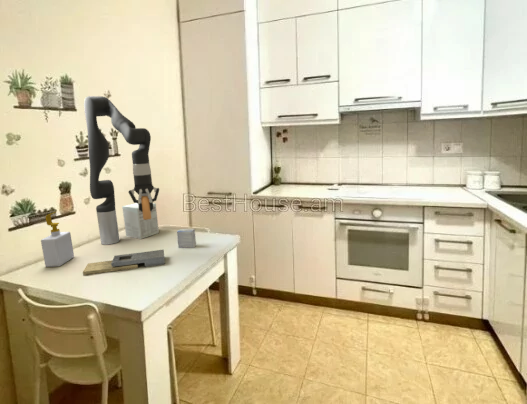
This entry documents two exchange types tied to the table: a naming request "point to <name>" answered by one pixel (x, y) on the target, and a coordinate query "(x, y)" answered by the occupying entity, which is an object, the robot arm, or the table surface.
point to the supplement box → (139, 222)
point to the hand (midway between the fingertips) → (146, 210)
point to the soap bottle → (56, 246)
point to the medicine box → (186, 238)
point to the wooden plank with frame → (126, 262)
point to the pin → (145, 206)
